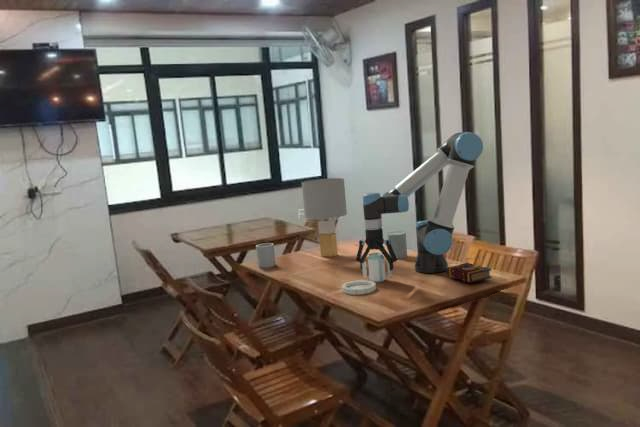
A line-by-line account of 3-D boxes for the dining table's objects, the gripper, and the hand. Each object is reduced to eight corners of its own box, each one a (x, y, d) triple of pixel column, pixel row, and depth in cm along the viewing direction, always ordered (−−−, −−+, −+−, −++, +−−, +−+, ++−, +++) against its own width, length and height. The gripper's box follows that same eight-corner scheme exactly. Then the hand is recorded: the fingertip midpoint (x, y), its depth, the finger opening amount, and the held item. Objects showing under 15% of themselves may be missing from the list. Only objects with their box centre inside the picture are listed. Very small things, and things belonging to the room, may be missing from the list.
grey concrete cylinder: (386, 256, 292) (384, 233, 290) (402, 253, 295) (400, 230, 293) (393, 259, 283) (391, 235, 281) (410, 256, 285) (409, 233, 284)
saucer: (380, 285, 237) (379, 280, 236) (368, 295, 224) (368, 290, 224) (349, 284, 243) (349, 279, 242) (337, 294, 230) (336, 288, 230)
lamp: (357, 252, 306) (351, 177, 300) (336, 262, 287) (329, 182, 281) (322, 251, 318) (316, 179, 312) (300, 260, 299) (293, 183, 293)
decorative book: (470, 284, 229) (470, 272, 228) (445, 276, 243) (445, 265, 242) (491, 278, 233) (491, 267, 233) (466, 272, 248) (465, 261, 247)
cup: (277, 267, 288) (275, 244, 286) (261, 270, 285) (258, 247, 283) (272, 264, 296) (270, 242, 295) (256, 267, 293) (254, 244, 292)
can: (367, 280, 248) (364, 254, 246) (381, 277, 250) (379, 251, 248) (374, 283, 241) (371, 256, 239) (388, 280, 243) (386, 254, 242)
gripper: (402, 226, 241) (405, 275, 244) (352, 226, 251) (355, 274, 254) (396, 229, 234) (400, 280, 237) (345, 230, 244) (349, 278, 247)
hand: (377, 277), depth 245 cm, fingers open, 11 cm apart
